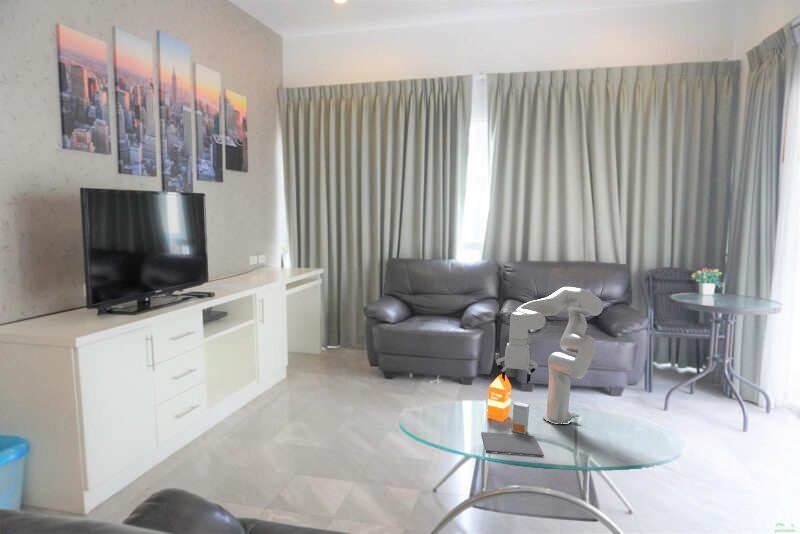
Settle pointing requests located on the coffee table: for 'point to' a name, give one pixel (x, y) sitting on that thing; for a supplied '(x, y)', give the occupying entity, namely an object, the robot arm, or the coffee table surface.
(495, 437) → the mat
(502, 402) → the orange juice
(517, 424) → the skincare box
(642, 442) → the coffee table surface
